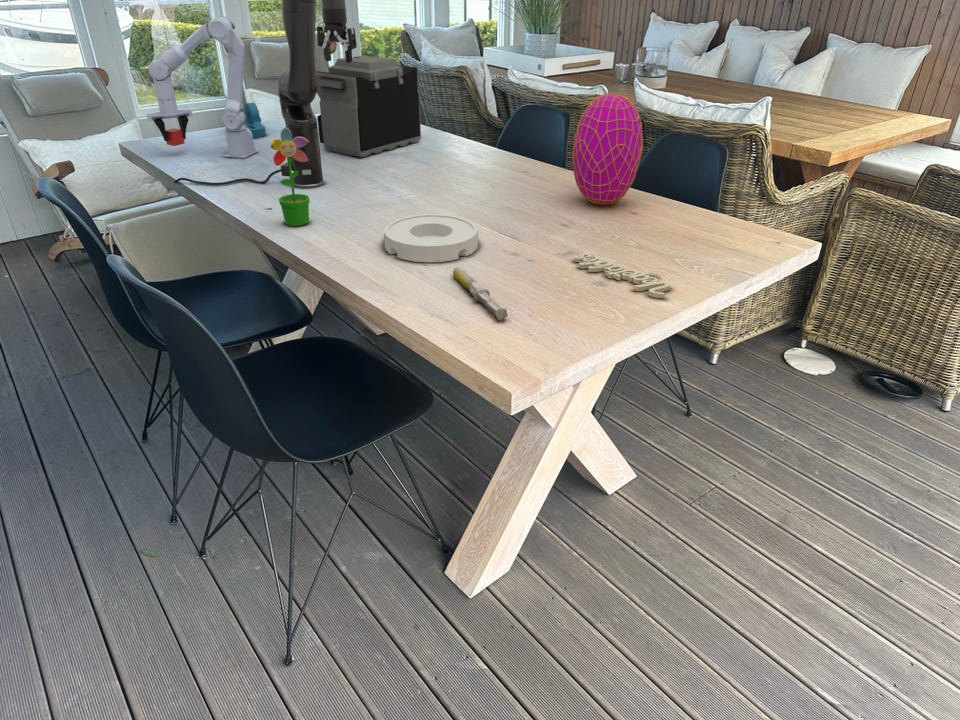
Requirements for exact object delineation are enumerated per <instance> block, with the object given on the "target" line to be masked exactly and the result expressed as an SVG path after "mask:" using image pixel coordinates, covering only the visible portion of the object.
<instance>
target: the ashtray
mask: <svg viewBox="0 0 960 720" xmlns="http://www.w3.org/2000/svg"><path fill="white" fill-rule="evenodd" d="M383 238H384V239H383V240H384V249H385V251H386V252H387V253H388V254H390V255H396V256H397V258H398V259H401V260H403V261H410V262H415V263H416V262H417V263H443V262H450V261H455V260H459V257H461V256H464V257H468V256H470V255H472V254H473V253H474V252H475V251H477V249H478V246H479V227H478V225H477V224H475V222H473V221H471V220H469V219H468V218H465V217H461V216H459V215H457V216H456V215H451V214H446V213H445V214H443V213H421V214H420V213H419V214H413V215H407V216H403V217H399V218H397V219H394V220H392V221H391V222H388V223H387V224H386V225H385V226H384V228H383Z"/></svg>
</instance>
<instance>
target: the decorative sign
mask: <svg viewBox="0 0 960 720" xmlns="http://www.w3.org/2000/svg"><path fill="white" fill-rule="evenodd" d="M574 262H575V263H578V269H588V270H587V272H588V273H598V272H603V273H604V276H606V277H607V278H608V279H614V280H617V281H621V279H622V280H627V281H628V282H630V283H633V284H634V285H633V291H636V292H643V291H647V290H648V293H647V294H648V296H649V297H652V298H656V299H664V298H665V295H666V292H668V291H669V290H670V289H671V283H670V282H668V281H659V279H658V272H657V271H648V272H639V271H637V270H634V269H630V268H628V267H627V266H626V267H625V266H624V265H619V264H618V263H615V262H611V261H610V260H604V258H601V257H598V256H596V255H592V254H590V253H587V252H586V253H582V254H581V255H580V256H578V255H575V256H574Z"/></svg>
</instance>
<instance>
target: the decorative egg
mask: <svg viewBox="0 0 960 720" xmlns="http://www.w3.org/2000/svg"><path fill="white" fill-rule="evenodd" d="M643 146H644V136H643V124H642V120H641V116H640V113H639V111H638V109H637V107H636V105H635V103H634V102H633V101H632V100H631V99H630V98H629V97H627V96H625V95H622V94H620V93H614V92H613V93H612V92H611V93H610V92H609V93H604V94H601V95H598V96H596V97H594V98H593V99H592V100H590V101H589V103H588V104H587V106H586V107H585V109H584V111H583V112H582V114H581V116H580V118H579V120H578V122H577V127H576V130H575V135H574V140H573V146H572V153H571V158H572V159H571V160H572V169H573V178H574V180H575V182H576V186H577V188H578V190H579V192H580V194H581V195H582V196H583V197H584V198H585V199H586V200H587V201H588V202H590V203H593V204H596V205H612V204H615V203H617V202H618V201H620V200H621V199H623V198H624V196H625V195H626V194H627V193H628V191H629V190H630V189H631V186H632V185H633V183H634V181H635V179H636V176H637V172H638V170H639V166H640V162H641V159H642V155H643V148H644V147H643Z"/></svg>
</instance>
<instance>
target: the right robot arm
mask: <svg viewBox="0 0 960 720" xmlns="http://www.w3.org/2000/svg"><path fill="white" fill-rule="evenodd" d="M320 4H321V12H322V13H321V15H322V22H323V24H324V25H318V26H316V21H317V20H316V17H317V16H316V15H317V0H281V20H282V25H283V31H284V34H285V38H286V42H287V45H288V53H289V67H288V68H287V69H285V70H283V71H282V72H281V73H280V75H279V77H278V80H277V91H278V98H279V104H280V111H281V116H282V119H283V121H284V123H285V124H284V125H285V128H288V129H289V130H290V131H291V134H292V139H293V138H295V137H299V136H300V137H304V138H305V139H307V140H308V141H309V143H307V144H306V145H305V146H303V147H301V148H297V149H299V150H301V151H302V152H304V153H305V155H306V156H307V158H308V161H307V162H298V161H296V160H295V159H293V158H292V157H290V160H291V168H292V172H294V171H297V172H299V174H298V175H297V176H296V177H294V178H293V183H294V187H296V188H300V189H301V188H303V189H310V188H317V187H320V186H322V185H324V184H325V182H324V175H323V167H322V157H321V147H320V139H319V130H318V120H317V116H316V115H315V114H314V111H313V109H312V105H311V103H313V102H314V100H315V99H316V96H317V78H316V71H317V67H316V51H315V50H316V41H317V47H320V48H322V49H323V58H324V60H325V62H331V61H332V52H331V50H332V49H331V45H332V43H334V42H335V43H339V44H340V45H341V46H343V48H344V58H346V63H351V62H352V58H353V50H355V49H357V47H358V44H357V36H356V29H355V27H347V22H348V20H347V17H348V16H347V5H346V0H320ZM316 37H317V38H316ZM316 39H317V40H316ZM286 161H287V162H284V163H282V164H281V165H280V169H277V170H274V171H273V172H270V173H269V174H268V176H267V177H266V179H265V180H261V181H259V180H256V179H254V178H248V177H247V178H237V179H232V180H228V181H222V182H221V181H220V182H209V181H199V180H195V179H190V178H187V177H178V178H176V179H175V180H174V181H173V183H174V184H178V182H180V181H185V182H189V183H192V184H197V185H205V186H225V185H230V184H233V183H239V182H250V183H251V182H252V183H255V184H259V185H260V184H261V185H263V184H266V183H268V182H269V181H270V179H271V178H272V177H273V176H274V175H276V174H277V173H281V176H282V177H288V178H290V173H289V165H288V158H287V157H286Z"/></svg>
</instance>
